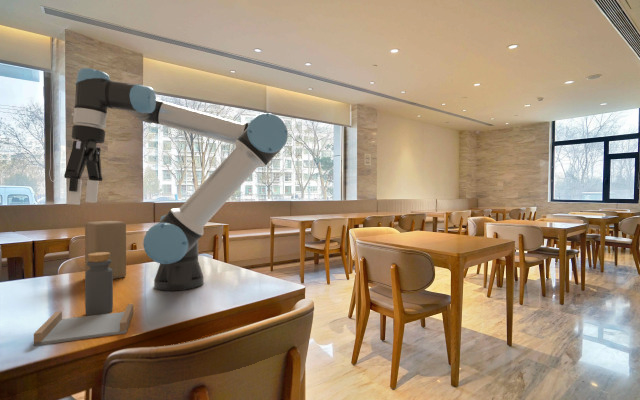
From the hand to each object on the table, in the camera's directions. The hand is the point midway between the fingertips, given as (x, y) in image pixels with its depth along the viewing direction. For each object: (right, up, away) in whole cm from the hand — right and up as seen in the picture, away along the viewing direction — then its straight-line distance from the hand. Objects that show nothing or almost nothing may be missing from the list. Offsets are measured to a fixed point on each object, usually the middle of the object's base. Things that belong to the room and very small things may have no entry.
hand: (82, 203), depth 93 cm
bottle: (+10, -28, -8) cm, 30 cm away
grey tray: (+14, -28, -17) cm, 36 cm away
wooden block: (-10, -27, +26) cm, 39 cm away
